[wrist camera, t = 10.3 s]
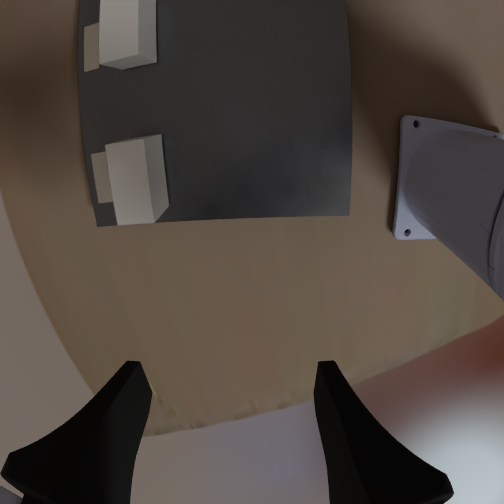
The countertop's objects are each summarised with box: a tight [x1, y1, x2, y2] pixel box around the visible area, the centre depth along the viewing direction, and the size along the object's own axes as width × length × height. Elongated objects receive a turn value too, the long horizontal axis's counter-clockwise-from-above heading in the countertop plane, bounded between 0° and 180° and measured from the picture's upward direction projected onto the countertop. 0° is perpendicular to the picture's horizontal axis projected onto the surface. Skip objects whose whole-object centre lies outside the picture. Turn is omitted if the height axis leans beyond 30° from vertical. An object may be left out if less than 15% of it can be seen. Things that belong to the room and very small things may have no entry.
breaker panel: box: [78, 0, 352, 227], centre depth 13 cm, size 15×22×2 cm
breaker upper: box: [105, 134, 169, 225], centre depth 14 cm, size 2×4×3 cm, turn 2°
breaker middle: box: [99, 0, 157, 70], centre depth 11 cm, size 2×4×3 cm, turn 3°
